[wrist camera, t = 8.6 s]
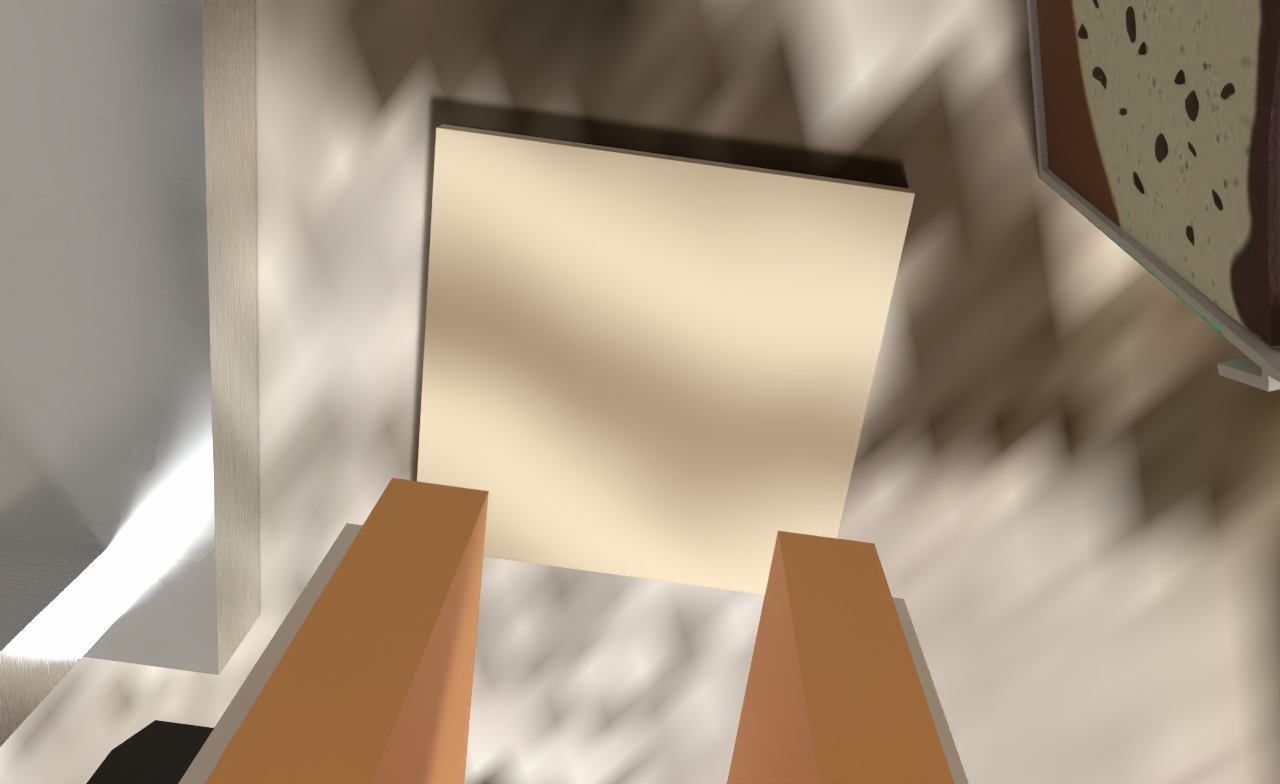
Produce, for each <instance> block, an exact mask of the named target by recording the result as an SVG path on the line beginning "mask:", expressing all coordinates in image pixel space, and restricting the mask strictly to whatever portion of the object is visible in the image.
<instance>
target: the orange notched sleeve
mask: <svg viewBox="0 0 1280 784" xmlns="http://www.w3.org/2000/svg"><path fill="white" fill-rule="evenodd" d="M488 494H489V491H484V490H477V489H469V488H462V487H455V486H447V485H440V484H432V483H425V482H418V481H410V480H403V479H396V478H392V479H391V481H390V482H389V484H388V486H387V487H386V489H385V491H384V492H383V494H382V495H381V497H380V499H379V500H378V502H377V504H376V505H375V507H374V508H373V510H372V512H371V513H370V515H369V517H368V518H367V520H366V522H365V523H364V525H363V526H362V528H361V530H360V531H359V533H358V535H357V536H356V538H355V539H354V541H353V543H352V544H351V546H350V548H349V549H348V551H347V552H346V554H345V556H344V557H343V559H342V561H341V562H340V564H339V565H338V567H337V569H336V570H335V572H334V574H333V575H332V577H331V578H330V580H329V582H328V583H327V585H326V587H325V588H324V590H323V592H322V593H321V595H320V596H319V598H318V600H317V601H316V603H315V605H314V606H313V608H312V609H311V611H310V613H309V614H308V616H307V618H306V619H305V621H304V622H303V624H302V626H301V627H300V629H299V631H298V632H297V634H296V635H295V637H294V639H293V640H292V642H291V644H290V645H289V647H288V648H287V650H286V652H285V653H284V655H283V657H282V658H281V660H280V662H279V663H278V665H277V666H276V668H275V670H274V671H273V673H272V675H271V676H270V678H269V679H268V681H267V683H266V684H265V686H264V688H263V689H262V691H261V692H260V694H259V696H258V697H257V699H256V701H255V702H254V704H253V705H252V707H251V709H250V710H249V712H248V714H247V715H246V717H245V718H244V720H243V722H242V723H241V725H240V727H239V728H238V730H237V732H236V733H235V735H234V736H233V738H232V740H231V741H230V743H229V745H228V746H227V748H226V749H225V751H224V753H223V754H222V756H221V758H220V759H219V761H218V762H217V764H216V766H215V767H214V769H213V771H212V772H211V774H210V775H209V777H208V779H207V780H206V782H205V784H464V778H465V766H466V754H467V742H468V731H469V719H470V707H471V695H472V683H473V672H474V660H475V648H476V636H477V624H478V612H479V601H480V589H481V577H482V565H483V553H484V541H485V530H486V518H487V506H488ZM727 784H954V781H953V778H952V775H951V772H950V769H949V766H948V763H947V760H946V757H945V754H944V751H943V748H942V745H941V742H940V739H939V736H938V733H937V730H936V727H935V724H934V721H933V718H932V715H931V712H930V709H929V706H928V703H927V700H926V697H925V694H924V691H923V688H922V685H921V682H920V679H919V676H918V673H917V670H916V667H915V664H914V661H913V658H912V655H911V652H910V649H909V646H908V643H907V640H906V637H905V634H904V631H903V628H902V625H901V622H900V619H899V616H898V613H897V610H896V607H895V604H894V601H893V598H892V596H891V593H890V590H889V587H888V584H887V581H886V578H885V575H884V572H883V569H882V566H881V563H880V560H879V557H878V554H877V551H876V548H875V545H874V544H873V543H866V542H858V541H851V540H844V539H836V538H829V537H822V536H814V535H807V534H800V533H792V532H785V531H778V533H777V538H776V543H775V548H774V553H773V558H772V563H771V568H770V573H769V578H768V582H767V587H766V592H765V597H764V602H763V607H762V612H761V617H760V622H759V627H758V632H757V637H756V642H755V647H754V652H753V657H752V662H751V667H750V672H749V677H748V682H747V687H746V692H745V697H744V702H743V707H742V712H741V717H740V722H739V727H738V732H737V737H736V742H735V747H734V752H733V757H732V762H731V767H730V772H729V777H728V782H727Z"/></svg>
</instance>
